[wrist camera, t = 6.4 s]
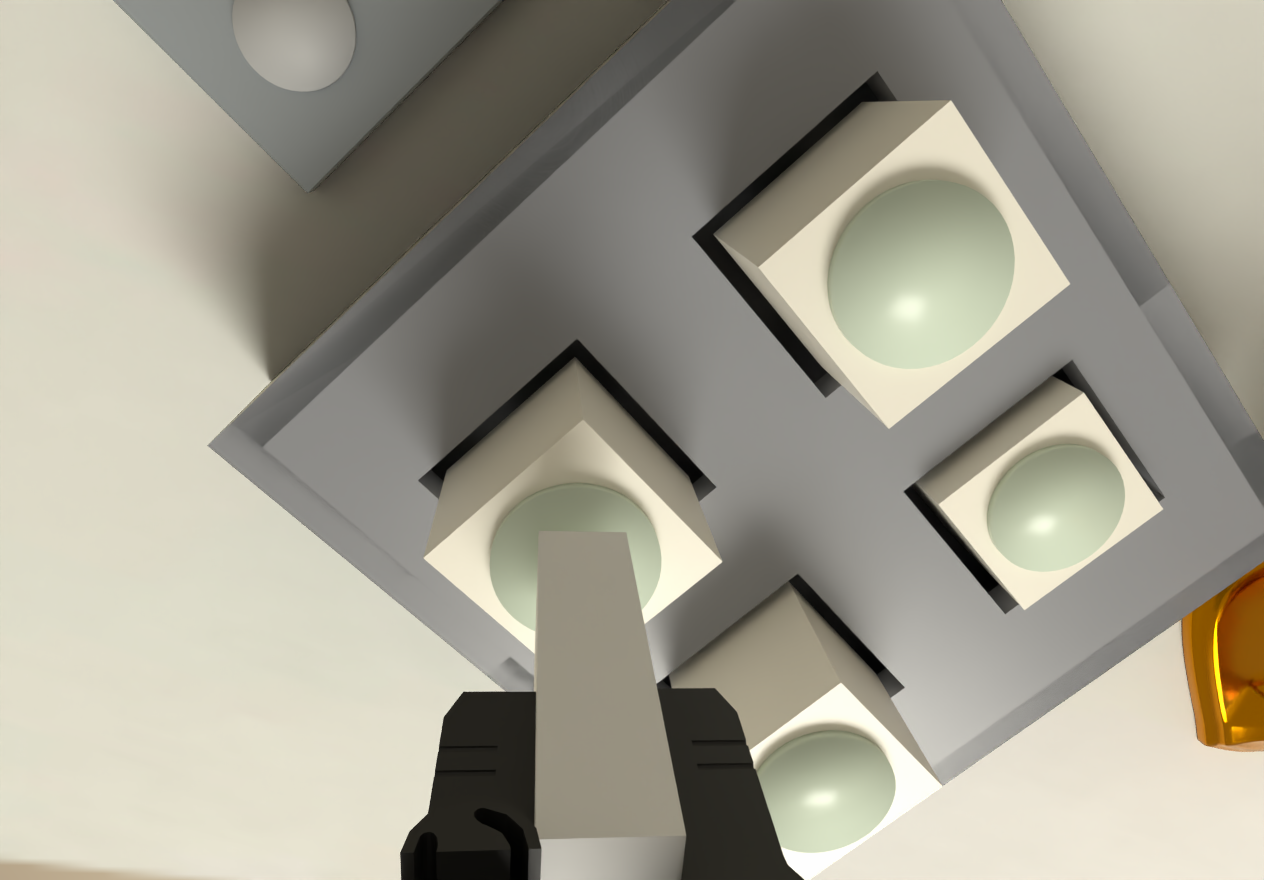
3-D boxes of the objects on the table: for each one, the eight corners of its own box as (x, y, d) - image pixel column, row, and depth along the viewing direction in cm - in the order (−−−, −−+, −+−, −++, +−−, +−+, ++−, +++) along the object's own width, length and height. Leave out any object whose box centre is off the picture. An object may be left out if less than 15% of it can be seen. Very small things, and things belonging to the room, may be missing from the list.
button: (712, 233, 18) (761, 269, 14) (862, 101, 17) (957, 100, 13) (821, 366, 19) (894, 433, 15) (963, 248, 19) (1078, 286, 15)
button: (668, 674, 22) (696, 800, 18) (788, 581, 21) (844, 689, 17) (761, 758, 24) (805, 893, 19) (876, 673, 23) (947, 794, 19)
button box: (270, 382, 22) (207, 445, 18) (808, -134, 19) (882, -201, 15) (736, 792, 29) (768, 907, 25) (1190, 458, 26) (1314, 526, 22)
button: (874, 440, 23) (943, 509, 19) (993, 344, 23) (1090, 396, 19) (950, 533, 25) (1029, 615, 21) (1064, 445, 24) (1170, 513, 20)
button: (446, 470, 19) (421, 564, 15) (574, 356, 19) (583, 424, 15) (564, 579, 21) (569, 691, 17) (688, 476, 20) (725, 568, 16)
